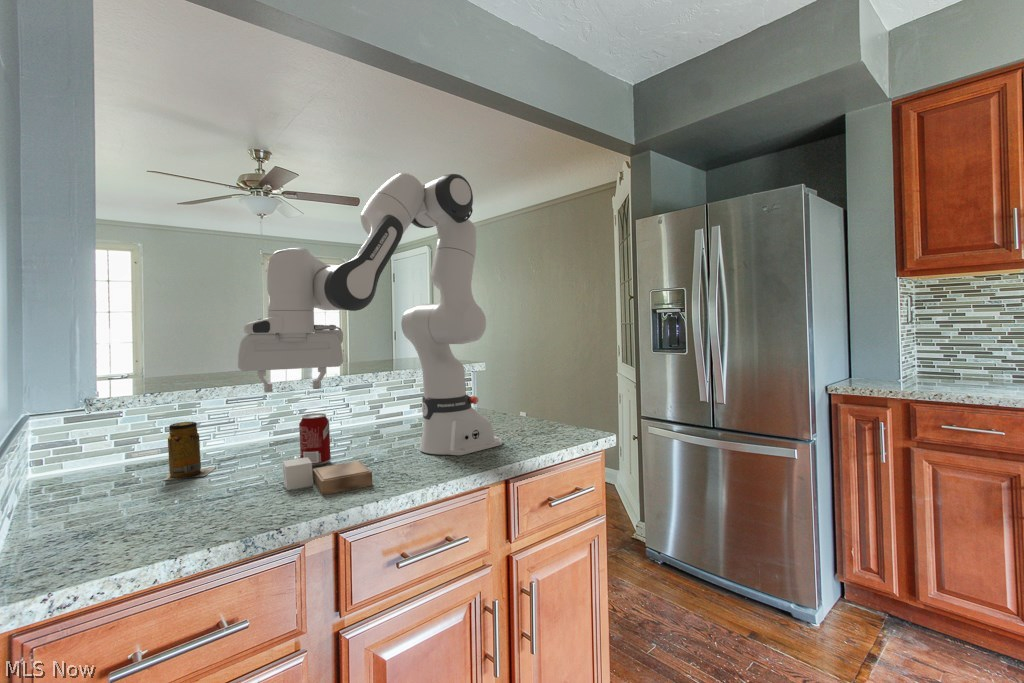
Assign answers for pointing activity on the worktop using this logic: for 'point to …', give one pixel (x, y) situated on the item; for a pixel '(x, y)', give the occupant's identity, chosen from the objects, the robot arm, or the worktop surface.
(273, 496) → the worktop surface
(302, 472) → the cube
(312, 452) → the soda can
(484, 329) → the robot arm
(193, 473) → the condiment
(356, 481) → the plinth
